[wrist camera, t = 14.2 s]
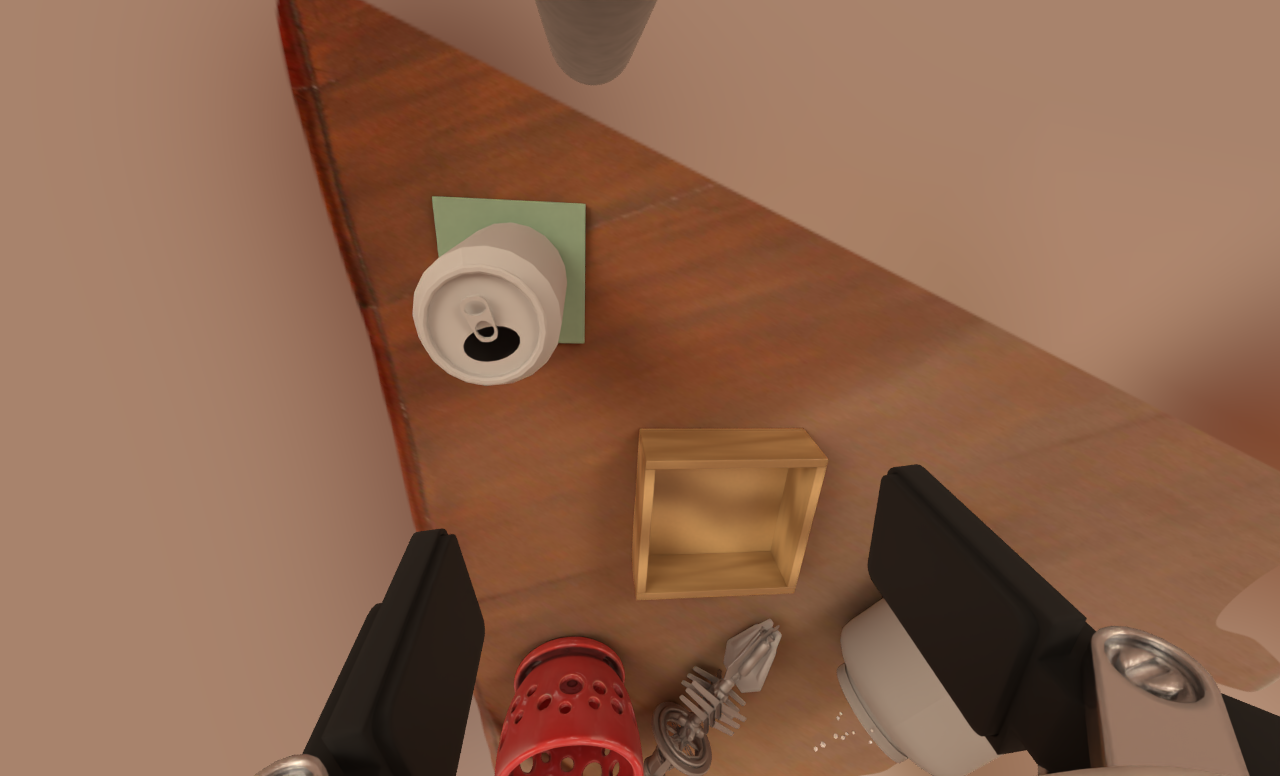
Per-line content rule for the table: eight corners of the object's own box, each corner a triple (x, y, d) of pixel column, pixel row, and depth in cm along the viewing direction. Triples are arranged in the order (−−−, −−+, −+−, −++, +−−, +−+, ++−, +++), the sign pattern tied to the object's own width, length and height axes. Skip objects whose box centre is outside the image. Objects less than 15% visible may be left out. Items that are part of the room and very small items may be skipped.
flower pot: (630, 697, 57) (641, 824, 46) (514, 706, 55) (497, 839, 44) (634, 617, 51) (648, 739, 40) (506, 624, 50) (484, 754, 39)
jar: (1041, 661, 54) (857, 793, 55) (934, 545, 60) (770, 665, 61) (1155, 709, 37) (884, 900, 38) (988, 540, 43) (760, 707, 44)
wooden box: (639, 428, 42) (646, 461, 37) (803, 427, 43) (829, 459, 39) (631, 558, 48) (636, 600, 43) (775, 553, 49) (794, 593, 45)
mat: (433, 195, 32) (431, 196, 32) (585, 203, 34) (585, 204, 33) (449, 339, 37) (448, 341, 36) (584, 341, 38) (584, 343, 37)
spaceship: (559, 851, 54) (617, 896, 54) (746, 627, 47) (815, 676, 47) (579, 785, 62) (630, 823, 62) (742, 583, 55) (801, 626, 54)
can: (481, 337, 36) (438, 414, 25) (441, 235, 33) (372, 273, 22) (579, 313, 36) (578, 379, 25) (549, 208, 33) (533, 233, 22)
